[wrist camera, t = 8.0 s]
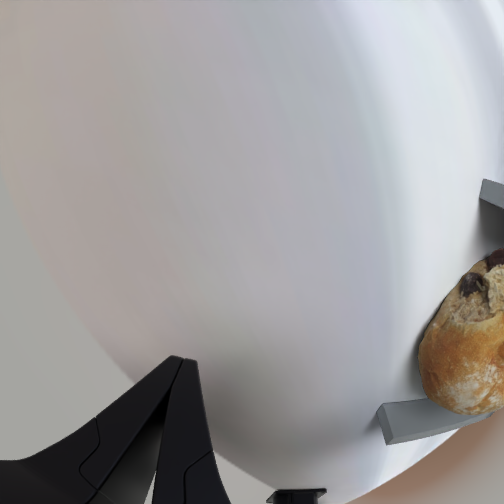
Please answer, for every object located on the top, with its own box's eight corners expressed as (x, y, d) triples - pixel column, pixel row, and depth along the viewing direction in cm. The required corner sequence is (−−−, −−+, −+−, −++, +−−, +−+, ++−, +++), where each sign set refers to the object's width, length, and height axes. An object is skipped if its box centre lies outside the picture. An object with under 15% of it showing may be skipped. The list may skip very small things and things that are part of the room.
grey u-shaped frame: (477, 394, 15) (489, 416, 12) (376, 411, 15) (386, 445, 12) (560, 229, 9) (585, 244, 6) (483, 178, 9) (525, 192, 6)
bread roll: (382, 336, 17) (396, 445, 11) (454, 227, 9) (518, 407, 4) (476, 321, 16) (497, 406, 11) (546, 235, 9) (593, 342, 3)
